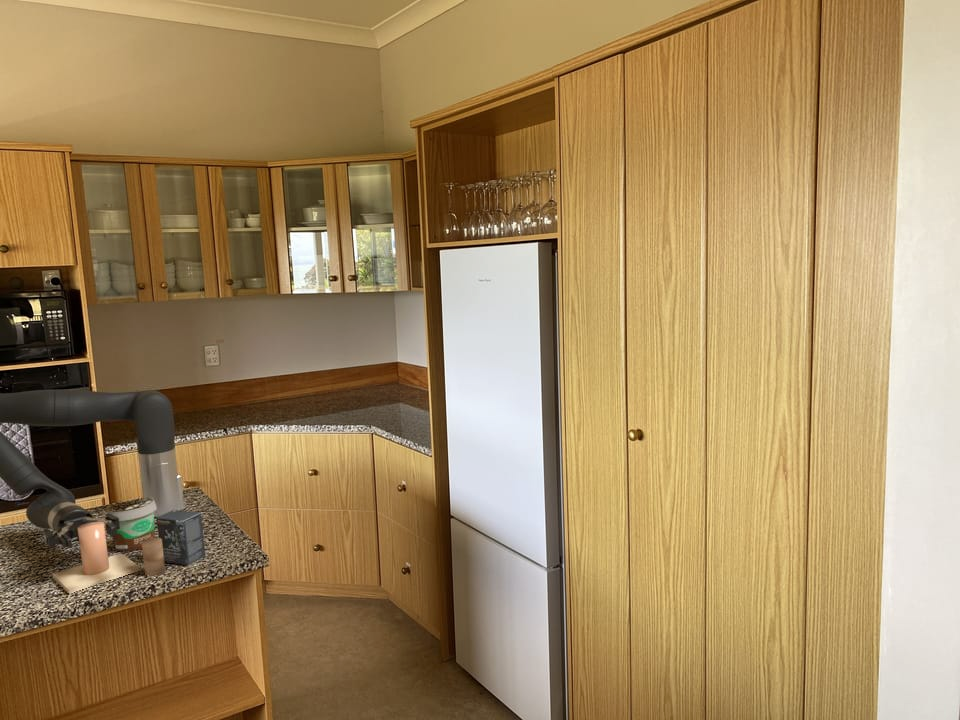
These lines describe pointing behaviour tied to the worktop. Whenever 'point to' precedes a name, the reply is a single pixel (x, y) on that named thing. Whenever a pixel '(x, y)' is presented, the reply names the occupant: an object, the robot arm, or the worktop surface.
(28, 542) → the worktop surface
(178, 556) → the box
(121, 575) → the birch board
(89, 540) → the salmon orange cylinder
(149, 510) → the food container
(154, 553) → the walnut cylinder
